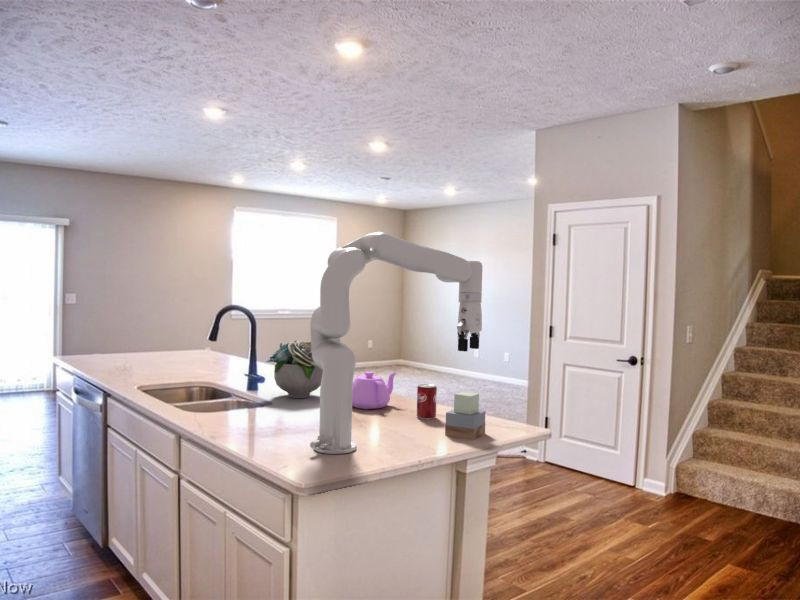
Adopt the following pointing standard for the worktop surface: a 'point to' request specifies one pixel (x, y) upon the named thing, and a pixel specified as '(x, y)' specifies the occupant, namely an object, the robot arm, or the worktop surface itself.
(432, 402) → the soda can
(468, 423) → the block top
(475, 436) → the block bottom
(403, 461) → the worktop surface
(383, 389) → the teapot
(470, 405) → the sage block
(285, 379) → the flower arrangement
